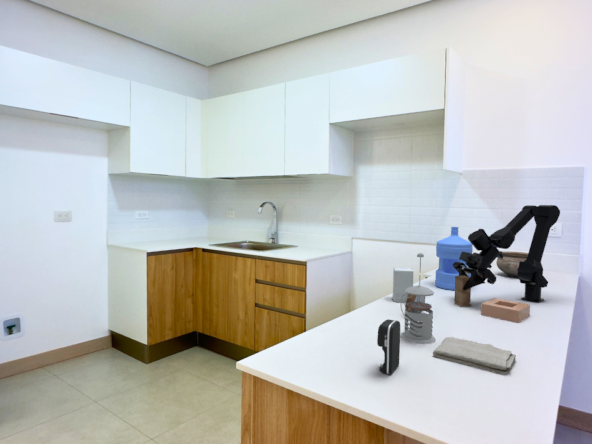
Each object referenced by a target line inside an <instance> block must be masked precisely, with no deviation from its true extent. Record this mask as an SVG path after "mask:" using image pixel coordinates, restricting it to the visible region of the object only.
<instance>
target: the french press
mask: <svg viewBox="0 0 592 444" xmlns="http://www.w3.org/2000/svg"><path fill="white" fill-rule="evenodd" d="M424 255H425V254H424V253H422V252H418V253H417V255H416V257H417V258H419V272H421V268H422V267H421V266H422V258H424V257H425V256H424ZM418 280H419V282H418V283H419V285H413V286H412V287H409V288H407V289H406V290H405V291H406V292H407V293H408V294H411V297H412V295H416V296H419V302H408V303H407V304H406V298H405V303H404V311H403V307H402V305H400V310H401V313H402V314H403V316H404V332H403V333H401V334H400V338H401V339H402V340H404V341H405V342H409V343H414V344H419V345H427V344H433V343H435V342H436V338H435V336H434V335H433V328H434V327H433V323H434V322H433V318H434V311H433V310H432V307H433V306H432V304H431V303H428V302H425V303H424V302H423V303H421V302H420V296H425V297H431V296H433V295H434V294H435V292H434V290H432V289H430V288H429V287H427V286H423V285H421V276H419V279H418ZM407 293H406V294H407ZM408 294H407V296H406V297H408ZM404 295H405V294H404ZM404 295H403V296H404ZM403 296H402V298H403ZM411 297H408V298H411ZM402 298H401V300H402ZM406 305H407V306H408V307H407V308H406ZM408 308H410V312H408ZM420 311H422V312H420ZM418 312H420V313H419V314H418ZM425 312H426V313H425Z"/></svg>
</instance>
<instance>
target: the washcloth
mask: <svg viewBox="0 0 592 444" xmlns="http://www.w3.org/2000/svg"><path fill="white" fill-rule="evenodd" d="M432 355H433V357H434V358H438V359H441V360H446V361H449V362H450V361H451V362H453V363H457V364H460V365H461V364H462V365H466V366H469V367H472V368H473V367H474V368H477V369H481V370H485V371H488V372H493V373H498V374H501V375H503V376H507V374H508V373H510V372H511V370H512V367H513V366H514V363H515V361H516V357H517V354H513V352H512V351H511V350H506V349H502V348H499V347H495V346H494V345H493V344H491V343H482V342H478V341H473V340H468V339H464V338H463V339H462V338H458V337H454V336H449V337H448V336H447V337H445V338H444V339H442V342H441V343H440V344H439V345H438V346H437V347H435V348H434V350H433V351H432Z"/></svg>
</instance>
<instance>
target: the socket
mask: <svg viewBox="0 0 592 444" xmlns="http://www.w3.org/2000/svg"><path fill="white" fill-rule="evenodd" d="M480 308H481V309H480V312H481V313H480V315H481V316H484V315H486V317H489V316H490V318H493V319H498V318H499V319H500V320H503V321H507V322H513V323H518V324H519V323H521V322H522V321H524V320H525V319H526V318H528V317H530V315H531V304H529V303H524V302H518V301H513V300H507V299H502V298H498V297H493V298H491V299H489V300H487V301H484V302H482V303H481V306H480Z"/></svg>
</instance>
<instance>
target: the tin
mask: <svg viewBox="0 0 592 444" xmlns="http://www.w3.org/2000/svg"><path fill="white" fill-rule="evenodd" d="M408 297H411V294H409V295H408ZM408 297H407V300H406V303H405V305H406V304H407V303H408V302H419V296H416V295H412V297H411V298H408ZM420 302H421V303H423V302H424V303H426V296H420ZM407 307H408V306H407V305H406V308H407ZM408 312H410V308H408ZM420 313H423V311H420V312H418V314H420Z"/></svg>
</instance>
